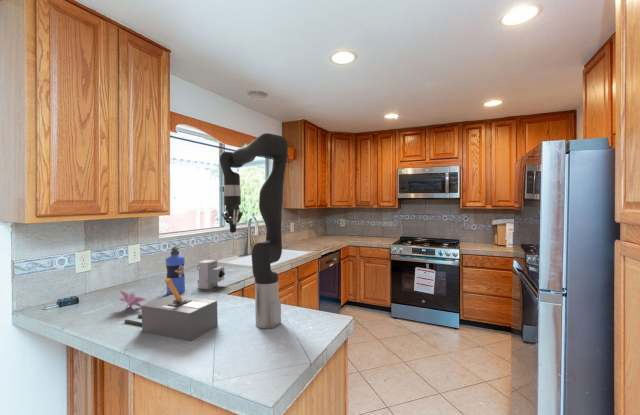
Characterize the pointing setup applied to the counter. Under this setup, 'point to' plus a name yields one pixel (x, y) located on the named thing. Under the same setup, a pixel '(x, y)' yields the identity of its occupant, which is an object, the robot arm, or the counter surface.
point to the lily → (131, 299)
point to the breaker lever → (173, 289)
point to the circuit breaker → (209, 274)
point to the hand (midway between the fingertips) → (233, 232)
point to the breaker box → (178, 317)
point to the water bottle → (176, 271)
